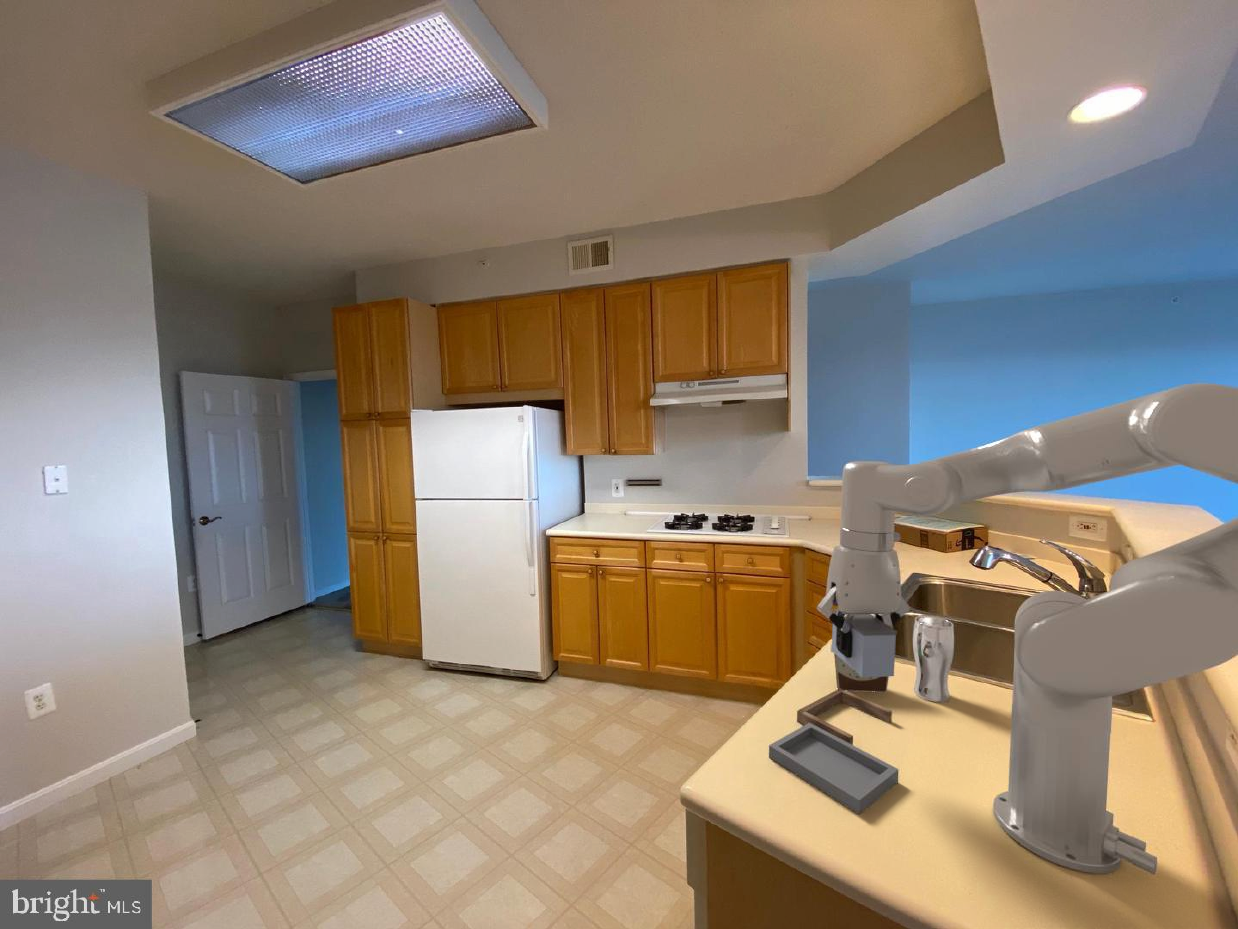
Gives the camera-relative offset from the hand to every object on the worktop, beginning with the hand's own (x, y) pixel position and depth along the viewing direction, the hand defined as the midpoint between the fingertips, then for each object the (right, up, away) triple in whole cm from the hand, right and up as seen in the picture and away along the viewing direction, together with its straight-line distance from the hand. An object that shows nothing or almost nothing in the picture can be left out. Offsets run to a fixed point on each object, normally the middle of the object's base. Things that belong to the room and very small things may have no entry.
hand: (861, 652), depth 79 cm
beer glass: (+24, -17, +21) cm, 36 cm away
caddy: (0, -2, 0) cm, 2 cm away
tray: (-5, -18, -1) cm, 19 cm away
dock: (+3, -17, +12) cm, 21 cm away
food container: (+11, -16, +25) cm, 32 cm away
